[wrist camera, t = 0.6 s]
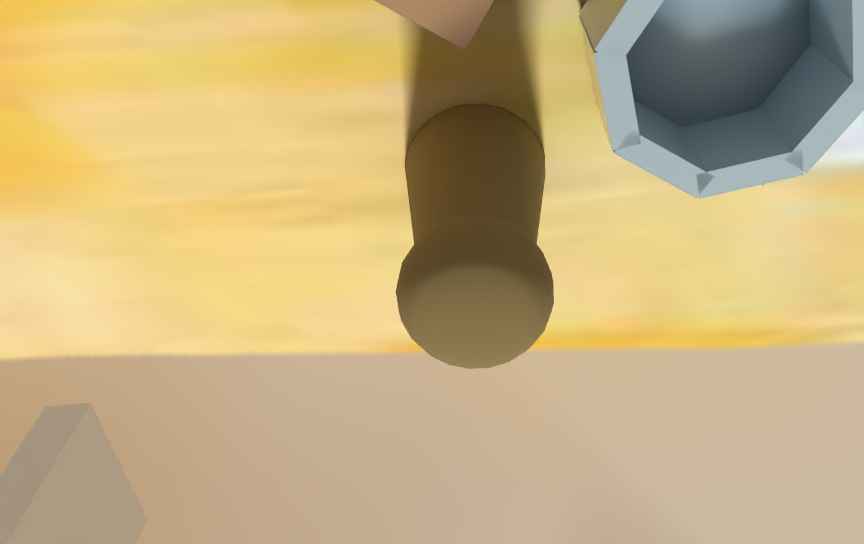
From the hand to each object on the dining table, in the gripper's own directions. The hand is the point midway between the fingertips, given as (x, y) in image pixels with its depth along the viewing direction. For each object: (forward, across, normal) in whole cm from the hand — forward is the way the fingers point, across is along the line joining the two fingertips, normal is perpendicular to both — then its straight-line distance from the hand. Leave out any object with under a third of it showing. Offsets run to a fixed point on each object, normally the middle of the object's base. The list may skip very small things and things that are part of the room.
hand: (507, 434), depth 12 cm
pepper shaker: (+22, -1, -6) cm, 23 cm away
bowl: (+22, +8, -1) cm, 23 cm away
